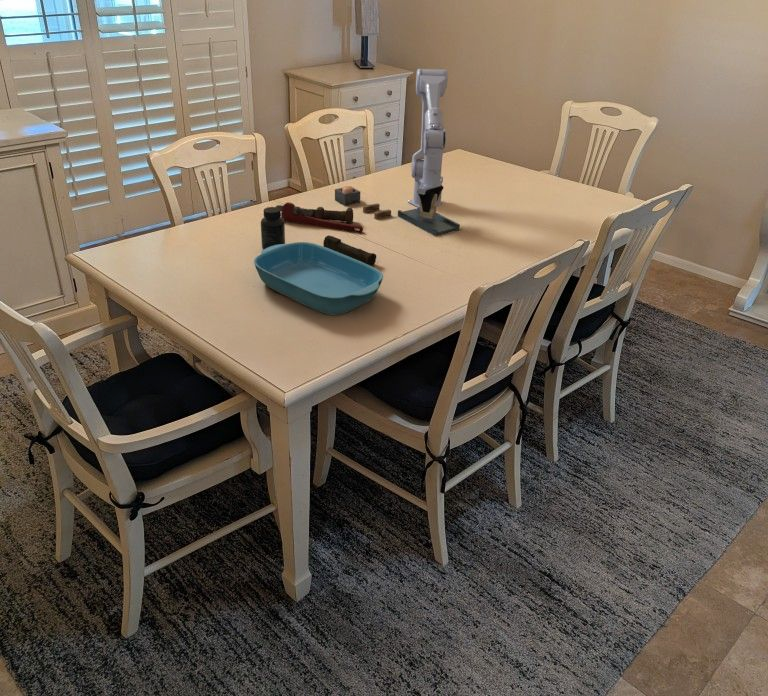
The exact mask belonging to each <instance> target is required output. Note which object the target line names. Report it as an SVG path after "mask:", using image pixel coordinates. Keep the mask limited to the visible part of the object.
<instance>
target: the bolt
mask: <svg viewBox="0 0 768 696" xmlns="http://www.w3.org/2000/svg"><path fill="white" fill-rule="evenodd" d="M309 209H310V210H312V211H313V214H312V215H311V216H309V215H308V216H309V217H313V218H318V219H323V220H328V221H333V222H341V223H345V224H352V225H353V222H354V209H353V208H352V207H347V209H346V210H329V209H325V208H324V207H323V206H318V207H317V208H315V209H313V208H309ZM306 216H307V215H306Z"/></svg>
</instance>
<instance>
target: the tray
mask: <svg viewBox="0 0 768 696" xmlns="http://www.w3.org/2000/svg"><path fill="white" fill-rule="evenodd" d="M397 217H398V218H400V219H401V220H404V221H406V222H408V223H410V224H411V225H414V226H416V227H418V228H419V229H421V230H423V231H425V232H426V231H427V233H429V234H430V235H433V236H434V237H438V236H442V234H443V235H446V234H450V233H455V232H458V231H460V230H461V229H460V228H461V224H460V223H457V222H456V221H454V220H452V219H450V218H448V217H446V216H443V215H442V214H440V213H438V212H436V215H435V216H434V217H432V218H431V219H429V218H425V217H420V207H417V208H413V209H409V210H405V211H404V210H400V209H398V210H397ZM454 231H455V232H454Z"/></svg>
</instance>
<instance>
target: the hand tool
mask: <svg viewBox="0 0 768 696" xmlns="http://www.w3.org/2000/svg"><path fill="white" fill-rule="evenodd" d="M322 246H323V247H326V248H329V249H331V250H334V251H336V252H339V253H341V254H343V255H346V256H348V257H351V258H353V259H356V260H358V261H360V262H363V263H365V264H367V265H370V266H372V267H374V266H375V264H376V260H377V254H376V253H375V252H374V253H373V252H368V251H365V250H364V249H361V248H357V247H355V246H351V245H350V244H347V243H345V242H342V239H340V238H337V237H335V236H333V235H327V236H325V237H324V238H323V245H322Z"/></svg>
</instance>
